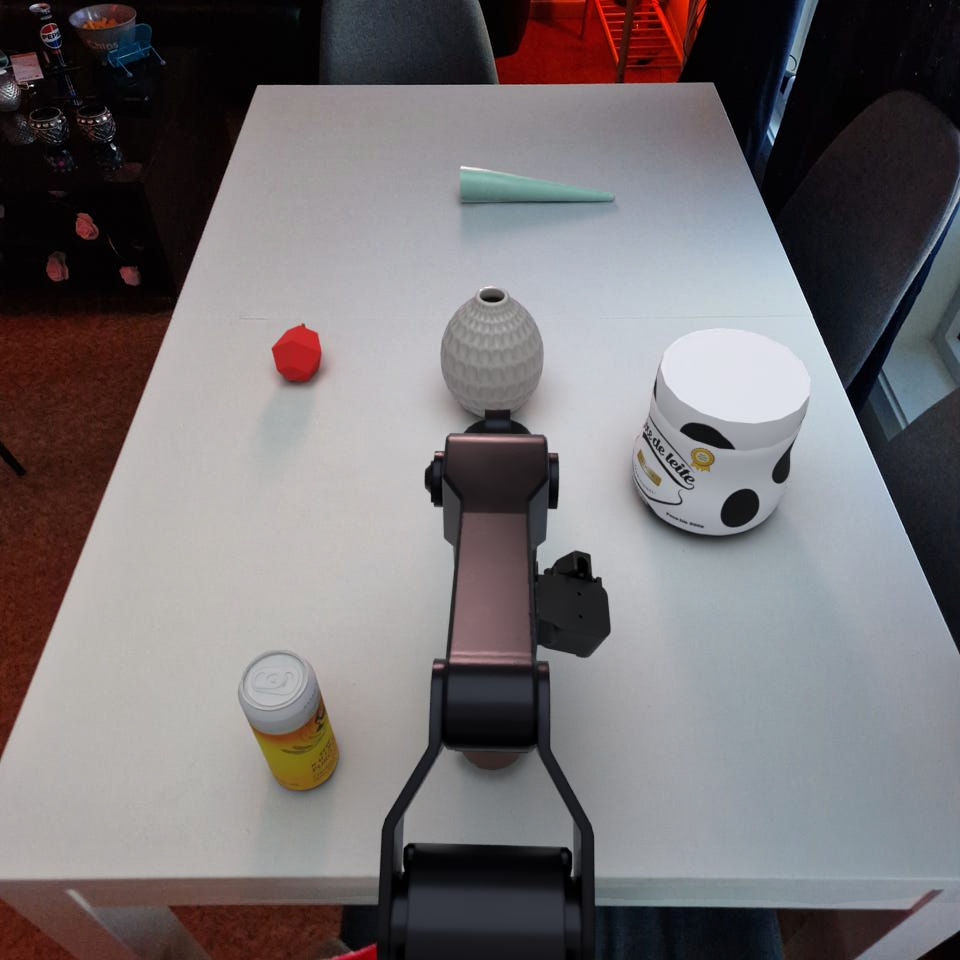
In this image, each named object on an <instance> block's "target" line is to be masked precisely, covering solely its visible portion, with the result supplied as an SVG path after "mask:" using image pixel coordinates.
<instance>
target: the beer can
mask: <svg viewBox="0 0 960 960" xmlns="http://www.w3.org/2000/svg"><path fill="white" fill-rule="evenodd" d="M237 697H238V702H239V706H240V707H241V709H242V712H243V713H244V716H245V718H246V720H247V722H248V724H249V726H250V728H251V731H252V733H253V735H254V737H255V740H256V741H257V743H258V744H257V745H258V746H259V748H260V750H261V752H262V754H263V756H264V758H265V760H266V763H267V765H268V768H269V769H270V772H271V773H272V776H273V777H274V779H275V780H276V782H277V783H278V784H280V785H281V786H282V787H284V788H286V789H289V790H293V791H306V790H310V789H313V788H315V787H318V786H319V785H321V784H322V783H324V782H325V781H327V779H328V778H329V777H330V776H331V775H332V773H333V772H334V770H335V769H336V766H337V763H338V759H339V747H338V744H337V740H336V736H335V734H334V731H333V727H332V723H331V721H330V717H329V715H328V711H327V707H326V705H325V701H324V698H323V694H322V692H321V688H320V684H319V682H318V679H317V675H316V671H315V669H314V667H313V666H312V664H311V663H310V662H309V660H308V659H307V658H305V657H303V656H302V655H299V654H298V653H297V652H295V651H293V650H290V649H286V648H276V649H270V650H267V651H264V652H262V653H260V654H258V655H256V656H255V657H253V659H251V660H250V661H249V662H248V663H247V665H246V666H245V667H244V669H243V671H242V673H241V676H240V680H239V683H238V687H237Z"/></svg>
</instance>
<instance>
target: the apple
mask: <svg viewBox="0 0 960 960" xmlns="http://www.w3.org/2000/svg"><path fill="white" fill-rule="evenodd" d="M321 346H322V345H321V341H320V337H319V332H317V331H314V330H312V329H310V328H307V327H306V324H305V323H304V322H302V323H301V324H298V325H296V326H294V327H291V328H289V329H287V330H286V331H285V332H284V333H283V334H282V336H280V338H279V339H278V340H277V341H276V342H275V344H274V345H272V347H271V352H272V357H273V360H274V364H275V368H276V371H277V372H278V373H280V375H282V376H283V377H284V378H285V379H286V380H287V381H291V382H292V381H294V382H304V383H308V382H309V380H310V379H311V378H312V377H313V376H314V374H315V373H316V372H317V371H318V370H319V369H320V366H321V360H322V351H323V350H322V347H321Z"/></svg>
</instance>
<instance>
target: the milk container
mask: <svg viewBox="0 0 960 960" xmlns="http://www.w3.org/2000/svg"><path fill="white" fill-rule="evenodd" d="M810 394H811V376H810V375H809V373H808V370H807V367H806V366H805V364H804V362H803V361H802V360H801V359H800V358H799V357H798V356H796V354H795V353H794V352H792V351H791V350H790V349H789V348H788V347H787V346H785V345H783V344H781V343H780V342H777V341H776V340H773V339H771V338H770V337H768V336H766V335H762V334H758V333H755V332H751V331H747V330H745V329H737V328H723V327H715V328H707V329H700V330H694V331H693V332H690V333H688V334H686V335H683V336H681V337H678V338H677V339H675V340H674V341H673V343H672V344H670V346H669V347H668V348H666V349H665V350H664V352H663V354H662V356H661V359H660V362H659V364H658V368H657V372H656V376H655V379H654V385H653V388H652V392H651V398H650V403H649V410H648V414H647V415H648V416H647V418H646V419H645V421H644V422H643V424H642V425H641V428H640V430H639V432H638V433H637V436H636V438H635V442H634V444H633V449H632V455H631V469H632V478H633V484H634V487H635V489H636V491H637V493H638V495H639V496H640V499H641V500H642V501H643V503H644V504H645V506H646V507H647V508H648V509H649V510H650V511H651V512H652V513H653V514H654V515H656V516H657V517H659V518H660V519H661V520H663V521H664V522H666V523H667V524H668V525H671V526H673V527H675V528H677V529H680V530H683V531H686V532H688V533H691V534H696V535H703V536H713V537H722V536H724V537H725V536H730V535H736V534H741V533H743V532H746V531H749V530H751V529H753V528H754V527H757V526H758V525H760V524H761V523H762V522H764V521H765V520H766V519H767V518H769V516H770V515H771V514H772V513H773V511H774V510H775V509H776V507H777V506H778V505H779V503H780V502H781V500H782V498H783V497H784V494H785V492H786V490H787V487H788V484H789V480H790V476H791V452H792V449H793V447H794V444H795V443H796V440H797V437H798V435H799V433H800V431H801V428H802V425H803V420H804V419H805V417H806V415H807V412H808V408H809V403H810V396H811V395H810Z"/></svg>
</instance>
